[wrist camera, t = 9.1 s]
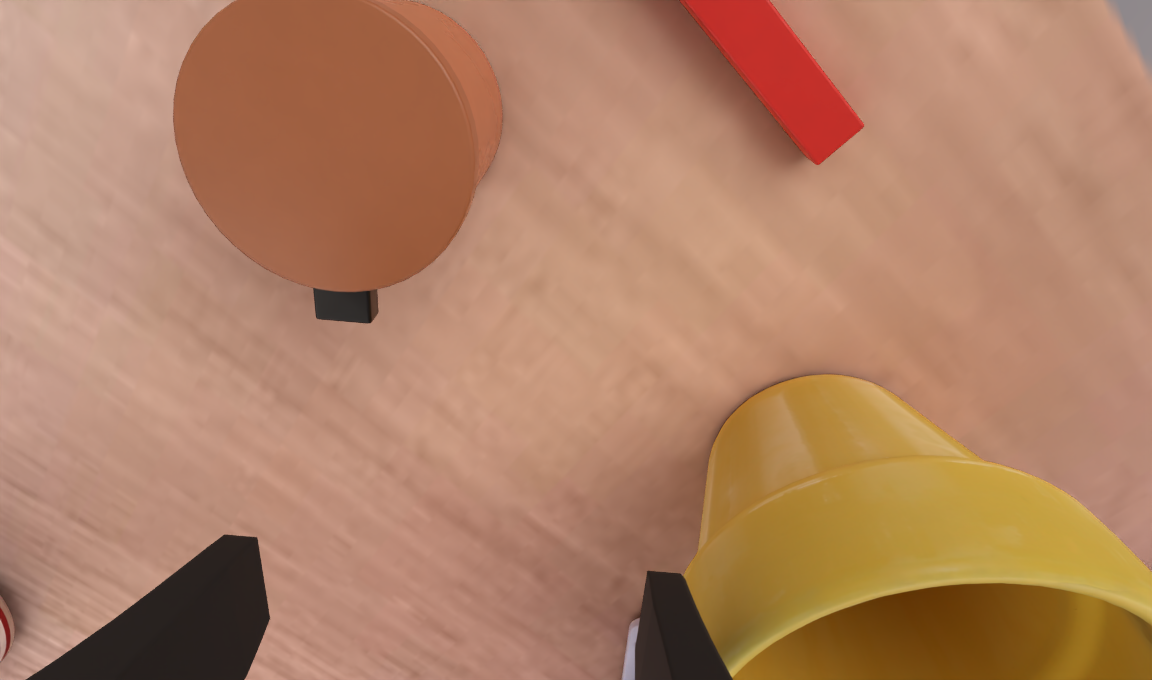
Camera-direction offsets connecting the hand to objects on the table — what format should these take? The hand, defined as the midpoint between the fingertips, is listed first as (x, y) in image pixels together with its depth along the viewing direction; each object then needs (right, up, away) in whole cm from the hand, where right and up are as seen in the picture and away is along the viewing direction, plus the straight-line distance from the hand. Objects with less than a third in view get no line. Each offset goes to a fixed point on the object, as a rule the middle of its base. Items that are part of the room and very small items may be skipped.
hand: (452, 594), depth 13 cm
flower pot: (+10, +1, +10) cm, 14 cm away
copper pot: (-2, +11, +5) cm, 12 cm away
